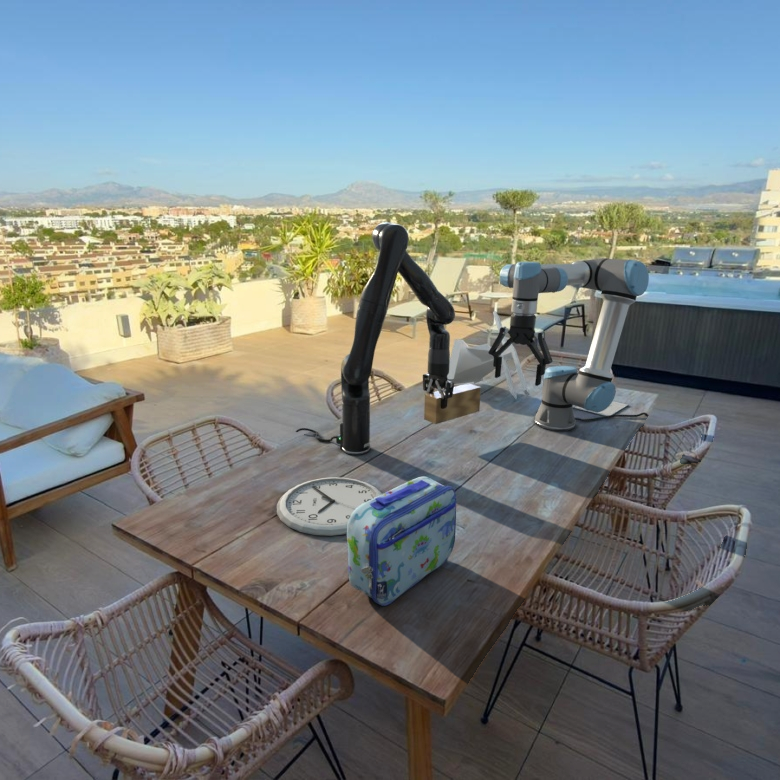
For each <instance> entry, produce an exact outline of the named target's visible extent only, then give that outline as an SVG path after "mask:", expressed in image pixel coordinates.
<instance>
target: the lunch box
mask: <svg viewBox="0 0 780 780" xmlns="http://www.w3.org/2000/svg"><path fill="white" fill-rule="evenodd" d="M456 524H457V494H456V490H455V488H454V487H453V486H451V485H444V484H441V483H440V482H438V481H436V480H434V479H432V478H431V477H428V476H422V475H421V476H419V477H416V478H413V479H411V480H408V481H407V482H404V483H402V484H400V485H398V486H396V487H394V488H392V489H390V490H388V491H386V492H383V494H381V495H380V496H378V497H376V498H374V499H372V500H370V501H368V502H365V503H363V504H362V505H360V506H358V507H357V508H356V509H355V510H354V511H353V513H352V514H351V516H350V518H349V521H348V525H347V534H346V545H347V546H346V548H347V570H348V572H347V573H348V581H349V583H350V585H351V587H353V588H354V589H356V590H358V591H361V592H362V593H364V594H365V595H366V596H368V597H369V598H371V599H372V601H373V602H374V603H375V604H378V605H379V606H383V607H386V606H388V605H390V604H392V603H394V601H396V600H397V599H398V598H399V597H400V596H402V595H403V594H404V593H406V592H407V591H408V590H410V589H411V588H413V587H414V586H415V585H417V584H418V583H419V582H421V580H422V579H424V577H426V576H427V575H430V573H432V572H434V571H435V570H436V569H438V568H440V567H441V566H442V565H444V563H446V562H447V561H448V559H449V558H450V556H451V554H452V552H453V549H454V546H455V542H456V529H457V525H456Z"/></svg>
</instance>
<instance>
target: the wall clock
mask: <svg viewBox="0 0 780 780" xmlns="http://www.w3.org/2000/svg"><path fill="white" fill-rule="evenodd" d="M381 494H384V492H382V491H381V490H380V489H379V488H377V487H376V486H374V485H372V484H371V483H369V482H365V481H362V480H359V479H355V478H349V477H338V476H337V477H335V476H333V477H332V476H331V477H322V478H317V479H312V480H307V481H305V482H302V483H299V484H297V485H295V486H293V487H292V488H290V489H288V490H287V491H286V492H285V493H284V494H283V495H281V496H280V498H279V499H278V502H277V503H276V515H277V517H278V518H279V520H280V521H281V522H282V523H283V524H285V525H286V526H287V527H288V528H290V529H293V530H295V531H297V532H299V533H303V534H308V535H312V536H327V537H328V536H329V537H331V536H332V537H333V536H342V535H347V525H348V521H349V518H350V516H351V514H352V513H353V511H354V510H355V509H356V508H357V507H358V506H360V505H362V504H363V503H365V502H368V501H370V500H372V499H374V498H376V497H378V496H380V495H381Z"/></svg>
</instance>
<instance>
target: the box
mask: <svg viewBox="0 0 780 780" xmlns="http://www.w3.org/2000/svg"><path fill="white" fill-rule="evenodd" d="M481 390H482V387H481V386H479V385H475V384H472V383H470V382H468V383H463V384H460V385H456V386H454V388H453V396H452V397H451V398H448V399H447V407H446V408H445V409H441V399H442V398H441V394H440V393H439V391H438V390H436V391H434V392H432V393H428V394H427V393H425V394H424V404H423V406H424V408H423V409H424V410H423V420H424V421H427V422H430V423H432V424H434V425H438V424H442V423H445V422H449V421H451V420H455V419H458V418H462V417H464V416H468V415H472V414H476V413H479V412H480V409H481ZM443 393H444V392H443ZM444 395H445V393H444Z"/></svg>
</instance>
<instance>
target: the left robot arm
mask: <svg viewBox="0 0 780 780" xmlns="http://www.w3.org/2000/svg"><path fill="white" fill-rule="evenodd" d="M409 238H410V237H409V232H408V230H407V228H406V227H404V225H401V224H399V223H398V224H397V223H392V222H381V223H379V224H378V225H376V226H375V227H374V229H373V231H372V234H371V241H372V244H373V246H374V247H375V249H376V250H378V252H379V254H378V258H377V263H376V266H375V269H374V271H373V273H372V274H371V277H370V278H369V279H368V281H367V282H366V284H365V285H364V288H363V289H362V291H361V293H360V298H359V302H358V304H357V309H356V316H355V323H354V336H353V341H352V346H351V349H350V351H349V354H347V355H345V356H344V358H343V359H342V360H341V364H340V383H341V384H340V386H341V387H340V388H341V411H342V413H341V414H342V415H341V417H342V419H341V420H342V421H341V422H340V423H339V434H337V435H334V436H331V437H330V438H328V439H324V438H321V437H319V435H320V433H319V431H317V430H314V429H311V428H308V427H307V428H306V427H301V428H298V429H296V430H295V433H299V432H300V431H307V432H311V433H314V434H315V436H314V437H315V440H317V441H320V442H324V443H325V442H326V443H329V442H332V441H333V440H335V442H336V444H337V445H339V449H340V450H341V451H343V453H345V454H348V455H352V456H353V455H355V456H356V455H357V456H358V455H365V454H367V453H369V451H370V450H371V443H370V442H371V441H370V440H371V429H370V428H371V392H370V377H371V375H372V370H373V363H374V359H375V358H374V357H375V351H376V347H377V344H378V341H379V338H380V335H381V333H382V330H383V326H384V324H385V320H386V317H387V314H388V310H389V306H390V302H391V298H392V294H393V291H394V287H395V284H396V280H397V276H398V273H399V275H400V276H401V278H402V279H403V280H404V281H405V283H406V284H407V286H408V287H409V288H410V290H411V292H412V293H413V294H414V296H415V297H416V298H417V300H418V301H419V303H420V304H422V305H423V306H425V307H427V308H426V310H425V311H426V312H425V319H426V326H427V330H428V335H429V336H428V339H429V341H428V352H427V373H424V374H422V389H423V391H425V392H426V394H428V393H432V392H435V390H437V391H439V393H440V394H441V398H442V399H441V409H445V408H446V407H447V399H448V398H451V397H452V396H453V388H454V387H455V384H454V382H453V381H452V382H450V381H448V378H447V375H448V374H449V363H450V357H451V353H450V342H451V335H450V332H449V331H448V330H447V329H446V328H445V326H446V325H450V324H452V323H453V322H454V320H455V318H456V311H455V308H454V305H452V303H451V301H449V300H448V299H447V298H446V296H444V295H443V294H442V293H441V292H440V291H439V290H438V288H437V286H436V284H434V282H433V280H432V279H431V278H430V276H429V275H428V273H426V271H425V270H424V269H423V268H422V267H421V266H420V265H419V264H418V263H417V262H416V261H415V260H414V259H413V258H412V257H411V255H410V254H409V253H408V252H407V249H408V246H409V241H410V239H409ZM443 392H444V393H445V395H444V393H443Z"/></svg>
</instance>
